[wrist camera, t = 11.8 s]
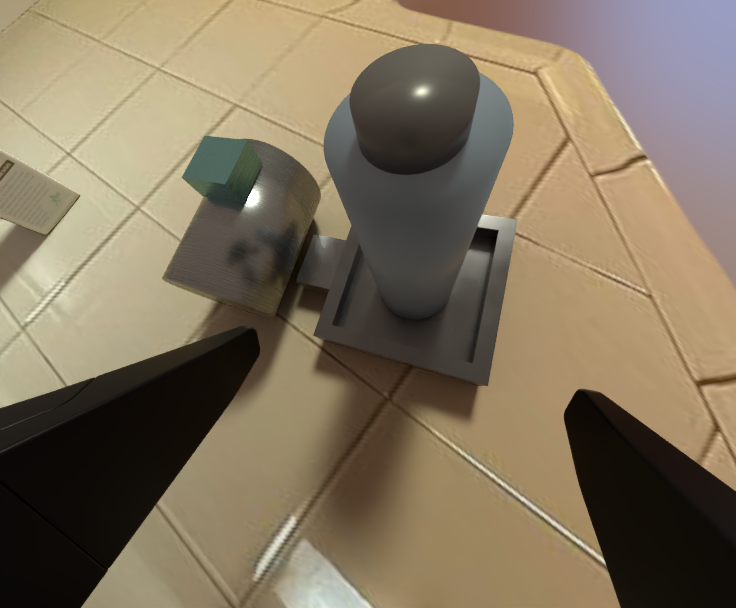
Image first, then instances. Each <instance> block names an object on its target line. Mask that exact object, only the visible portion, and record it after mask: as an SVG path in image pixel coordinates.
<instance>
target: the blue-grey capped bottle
mask: <svg viewBox="0 0 736 608" xmlns="http://www.w3.org/2000/svg"><path fill="white" fill-rule="evenodd" d="M513 125H514V124H513V114H512V110H511V106H510V104H509V102H508V100H507V98H506V96H505V94H504V93H503V92H502V90H501V89H500V88H499V87H498V86H497V85H496V84H495V83H494V82H493V81H492V80H490V79H489V78H488V77H486V76H485V75H483V74H481V73H479V72H478V70H477V67H476V66H475V64H474V63H473V61H472V60H471V59H470V58H469V57H468V56H466V55H465V54H463V53H462V52H460V51H458V50H456V49H454V48H451V47H447V46H443V45H436V44H419V45H412V46H407V47H403V48H400V49H397V50H394V51H392V52H390V53H387V54H385V55H384V56H382V57H380V58H378V59H377V60H375V61H374V62H373V63H371V64H370V65H369V66H368V67H367V68H366V69H365V70H364V71H363V72H362V73H361V74H360V75H359V77H358V78H357V80H356V81H355V83H354V85H353V87H352V90H351V93H350V94H349V95H348V96H347V97H346V98H345V99H344V100H343V101H342V102H341V103H340V105H339V106H338V107H337V109H336V110H335V112H334V113H333V115H332V117H331V119H330V121H329V123H328V126H327V129H326V132H325V138H324V155H325V160H326V163H327V166H328V169H329V171H330V174H331V176H332V179H333V181H334V184H335V186H336V188H337V191H338V193H339V196H340V198H341V201H342V203H343V205H344V208H345V210H346V213H347V215H348V218H349V220H350V222H351V225H352V227H353V230H354V232H355V235H356V237H357V239H358V242H359V244H360V247H361V249H362V252H363V254H364V256H365V259H366V261H367V264H368V266H369V269H370V271H371V273H372V276H373V278H374V281H375V283H376V285H377V288H378V290H379V293H380V295H381V298H382V300H383V302H384V303H385V305H386V306H387V307H388V308H389V310H391V311H392V312H393V313H395V314H396V315H398V316H400V317H403V318H407V319H423V318H427V317H430V316H432V315H434V314H436V313H437V312H438V311H440V310H441V309H442V308H443V307H444V305H445V304H446V303H447V301H448V299H449V297H450V294H451V292H452V289H453V287H454V284H455V282H456V279H457V277H458V274H459V272H460V269H461V267H462V264H463V262H464V259H465V256H466V254H467V251H468V249H469V246H470V244H471V241H472V239H473V236H474V234H475V231H476V229H477V226H478V224H479V221H480V219H481V216H482V214H483V211H484V209H485V206H486V204H487V201H488V198H489V196H490V193H491V191H492V188H493V186H494V183H495V181H496V178H497V176H498V173H499V171H500V168H501V166H502V163H503V161H504V158H505V156H506V153H507V151H508V148H509V145H510V142H511V139H512V135H513Z"/></svg>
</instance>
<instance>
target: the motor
mask: <svg viewBox="0 0 736 608" xmlns="http://www.w3.org/2000/svg"><path fill="white" fill-rule="evenodd" d="M182 178H183V179H184V180H185V181H186V182H187V183H188V184H190V185H191V186H192V187H193V188H194V189H195V190H196V191H198V192H199V193H200V194H201V195H202V196H203V199H202V201H201V203H200V205H199V207H198V209H197V211H196V213H195V215H194V217H193V219H192V221H191V223H190V225H189V227H188V228H187V230H186V232H185V234H184V236H183V238H182V240H181V242H180V244H179V246H178V248H177V250H176V252H175V254H174V256H173V258H172V259H171V261H170V263H169V265H168V267H167V269H166V271H165V273H164V275H163V277H162V279H163V280H164V281H166V282H168V283H170V284H172V285H175V286H177V287H179V288H182V289H184V290H187V291H189V292H192V293H194V294H197V295H200V296H203V297H205V298H208V299H211V300H214V301H217V302H219V303H222V304H225V305H228V306H231V307H234V308H238V309H241V310H244V311H247V312H251V313H254V314H258V315H262V316H266V317H271V318H274V317H275V315H276V312H277V309H278V307H279V304H280V302H281V299H282V297H283V294H284V292H285V289H286V286H287V284H288V281H289V279H290V276H291V274H292V271H293V269H294V266H295V263H296V261H297V258H298V256H299V253H300V251H301V248H302V245H303V243H304V240H305V238H306V235H307V233H308V230H309V228H310V225H311V222H312V220H313V217H314V215H315V212H316V210H317V207H318V205H319V202H320V199H321V193H320V189H319V186H318V184H317V182H316V181H315V179H314V178H313V176H312V175H311V174H310V173H309V171H308V170H307V169H306V168H305V167H304V166H303V165H301V164H300V163H299V162H298V161H297V160H295V159H294V158H293V157H292V156H290V155H289V154H287V153H285V152H284V151H282V150H280V149H278V148H276V147H274V146H272V145H270V144H267V143H265V142H261V141H258V140H253V139H230V138H220V137H211V136H204V138H203V140H202V142H201V143H200V145H199V147H198V149H197V151H196V153H195V154H194V156H193V158H192V160H191V162H190V163H189V165H188V167H187V169H186V171H185V173H184V174H183V176H182ZM516 225H517V219H510V218H503V217H496V216H490V215H483V214H482V216H481V219H480V221H479V224H478V226H477V229H476V231H475V234H474V236H473V239H472V241H471V244H470V246H469V249H468V251H467V254H466V256H465V259H464V262H463V264H462V267H461V269H460V272H459V274H458V277H457V279H456V282H455V284H454V287H453V289H452V292H451V294H450V297H449V299H448V301H447V303H446V304H445V305H444V307H443V308H442V309H441V310H440V311H438V312H437V313H436V314H434V315H432V316H430V317H427V318H423V319H407V318H403V317H400V316H398V315H396V314H395V313H393V312H392V311H391V310H389V308H388V307H387V306H386V305H385V303H384V302H383V300H382V298H381V295H380V293H379V290H378V288H377V285H376V283H375V281H374V278H373V276H372V273H371V271H370V269H369V266H368V264H367V261H366V259H365V256H364V254H363V252H362V249H361V247H360V244H359V242H358V239H357V237H356V235H355V232H354V230H353V227H352V226H351V229H350V232H349V234H348V237H347V240H341V239H335V238H330V237H325V236H320V235H313V238H312V240H311V243H310V245H309V248H308V251H307V253H306V256H305V258H304V261H303V264H302V266H301V269H300V272H299V274H298V277H297V279H296V282H297V283H299V284H300V285H301V286H302V287H303V288H304V289H308V290H312V291H317V292H321V293H325V294H328V295H327V298H326V301H325V303H324V306H323V309H322V312H321V315H320V318H319V321H318V324H317V326H316V329H315V332H314V336H316V337H318V338H320V339H322V340H324V341H328V342H331V343H334V344H338V345H341V346H345V347H348V348H352V349H355V350H358V351H362V352H365V353H369V354H372V355H376V356H379V357H382V358H386V359H389V360H393V361H396V362H400V363H403V364H406V365H410V366H413V367H417V368H420V369H424V370H427V371H430V372H434V373H437V374H441V375H444V376H448V377H451V378H454V379H458V380H461V381H465V382H468V383H471V384H475V385H478V386H488V382H489V376H490V371H491V365H492V359H493V354H494V348H495V342H496V337H497V331H498V326H499V320H500V314H501V309H502V303H503V298H504V292H505V286H506V281H507V275H508V269H509V264H510V258H511V253H512V247H513V241H514V236H515V230H516Z"/></svg>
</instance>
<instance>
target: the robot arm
mask: <svg viewBox="0 0 736 608" xmlns="http://www.w3.org/2000/svg"><path fill="white" fill-rule="evenodd" d="M259 354H260V345H259V340H258V336H257V332H256V330H255V329H254V328H251V327H246V326H241V327H238V328H235V329H232V330H229V331H226V332H223V333H220V334H218V335H215V336H212V337H209V338H206V339H203V340H200V341H197V342H194V343H192V344H189V345H186V346H183V347H180V348H177V349H174V350H171V351H169V352H166V353H163V354H160V355H157V356H154V357H151V358H148V359H146V360H143V361H140V362H137V363H134V364H131V365H128V366H125V367H122V368H120V369H117V370H114V371H111V372H108V373H105V374H102V375H99V376H97V377H96V378H91V379H88V380H85V381H82V382H79V383H76V384H73V385H70V386H67V387H64V388H61V389H58V390H56V391H53V392H50V393H47V394H44V395H41V396H37V397H34V398H31V399H28V400H25V401H22V402H18V403H15V404H12V405H9V406H6V407H3V408H0V608H81V607H82V605H83V604H84V603H85V601H86V600H87V598H88V597H89V596H90V594H91V593H92V592H93V590H94V589H95V588H96V586H97V585H98V583H99V582H100V581H101V579H102V578H103V577H104V575H105V574H106V572H107V571H108V568H110V567H111V565H112V564H113V563H114V561H115V560H116V558H117V557H118V556H119V554H120V553H121V552H122V550H123V549H124V548H125V546H126V545H127V543H128V542H129V541H130V539H131V538H132V537H133V535H134V534H135V532H136V531H137V530H138V528H139V527H140V526H141V524H142V523H143V522H144V520H145V519H146V517H147V516H148V515H149V513H150V512H151V511H152V509H153V508H154V506H155V505H156V504H157V502H158V501H159V500H160V498H161V497H162V496H163V494H164V493H165V491H166V490H167V489H168V487H169V486H170V485H171V483H172V482H173V480H174V479H175V478H176V476H177V475H178V474H179V472H180V471H181V470H182V468H183V467H184V465H185V464H186V463H187V461H188V460H189V459H190V457H191V456H192V454H193V453H194V452H195V450H196V449H197V448H198V446H199V445H200V444H201V442H202V441H203V439H204V438H205V437H206V435H207V434H208V433H209V431H210V430H211V428H212V427H213V426H214V424H215V423H216V422H217V420H218V419H219V418H220V416H221V415H222V413H223V412H224V411H225V409H226V408H227V407H228V405H229V404H230V402H231V401H232V400H233V398H234V397H235V395H236V393H237V392H238V390H239V389H240V387H241V385H242V384H243V382H244V380H245V379H246V377H247V375H248V373H249V372H250V370H251V368H252V367H253V365H254V363H255V362H256V360H257V358H258V357H259ZM564 422H565V426H566V431H567V435H568V439H569V444H570V448H571V453H572V457H573V462H574V466H575V470H576V475H577V478H578V482H579V486H580V489H581V492H582V495H583V498H584V501H585V504H586V507H587V510H588V513H589V516H590V519H591V522H592V525H593V528H594V531H595V533H596V536H597V539H598V542H599V545H600V548H601V551H602V554H603V557H604V560H605V563H606V566H607V569H608V572H609V575H610V577H611V580H612V583H613V586H614V589H615V592H616V595H617V598H618V601H619V604H620V607H621V608H736V491H734V490H733V489H732V488H730V487H729V486H728V485H726V484H725V483H724V482H722V481H721V480H719V479H718V478H717V477H715V476H714V475H713V474H711V473H710V472H709V471H707V470H706V469H704V468H703V467H702V466H700V465H699V464H698V463H696V462H695V461H694V460H692V459H691V458H689V457H688V456H687V455H685V454H684V453H683V452H681V451H680V450H679V449H677V448H676V447H674V446H673V445H672V444H670V443H669V442H668V441H666V440H665V439H664V438H662V437H661V436H659V435H658V434H657V433H655V432H654V431H653V430H651V429H650V428H649V427H647V426H646V425H644V424H643V423H642V422H640V421H639V420H638V419H636V418H635V417H634V416H632V415H631V414H629V413H628V412H627V411H625V410H624V409H623V408H621V407H620V406H619V405H617V404H616V403H614V402H613V401H612V400H610V399H609V398H608V397H606V396H605V395H604V394H602V393H600V392H597V391H592V390H587V389H579V390H577V391H576V392H575V394H574V396H573V397H572V399H571V401H570V403H569V404H568V406H567V408H566V410H565V412H564Z"/></svg>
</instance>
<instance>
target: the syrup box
mask: <svg viewBox="0 0 736 608" xmlns="http://www.w3.org/2000/svg"><path fill="white" fill-rule="evenodd" d="M79 195H80V194H79V193H77V192H76V191H74V190H72V189H71V188H69V187H67V186H66V185H64V184H62V183H60V182H58V181H57V180H55V179H53V178H51V177H50V176H48V175H46V174H44V173H42V172H41V171H39V170H37V169H35V168H33V167H32V166H30V165H28V164H26V163H25V162H23V161H21V160H19V159H17V158H16V157H14V156H12V155H10V154H9V153H7V152H5V151H3V150H2V149H0V218H1V219H4V220H7V221H9V222H12V223H15V224H17V225H20V226H22V227H25V228H27V229H30V230H33V231H35V232H38V233H41V234H44V235H45V234H47V233H49V232H50V231H51V230H52V228H53V227H54V226H55V225H56V224H57V223H58V222H59V221H60V220H61V218H62V217H63V216H64V215H65V213H66V212H67V211H68V210H69V208H70V207H71V206H72V205H73V203H74V202H75V201H76V199H77V198H78V197H79Z"/></svg>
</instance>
